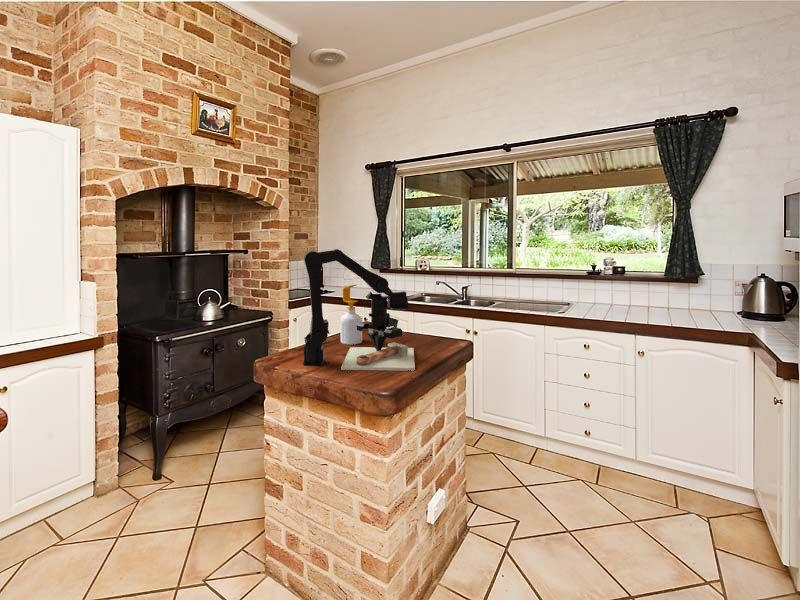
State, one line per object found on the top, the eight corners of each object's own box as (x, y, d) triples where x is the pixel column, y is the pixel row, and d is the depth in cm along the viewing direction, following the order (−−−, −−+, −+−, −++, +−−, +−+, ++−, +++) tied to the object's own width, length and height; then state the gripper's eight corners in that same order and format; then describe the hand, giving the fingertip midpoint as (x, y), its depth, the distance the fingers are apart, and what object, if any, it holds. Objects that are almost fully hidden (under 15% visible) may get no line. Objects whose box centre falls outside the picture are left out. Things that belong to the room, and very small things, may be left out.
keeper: (401, 360, 165) (401, 347, 164) (387, 355, 170) (387, 343, 170) (407, 358, 167) (407, 346, 166) (393, 354, 173) (393, 342, 172)
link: (363, 365, 154) (363, 358, 153) (353, 363, 156) (353, 356, 156) (403, 352, 171) (403, 345, 171) (394, 350, 174) (394, 343, 173)
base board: (341, 369, 153) (341, 367, 153) (350, 349, 179) (350, 347, 179) (414, 370, 153) (414, 367, 153) (413, 350, 178) (413, 347, 178)
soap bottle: (352, 346, 184) (351, 286, 181) (336, 342, 190) (335, 284, 186) (366, 341, 191) (366, 284, 188) (350, 338, 197) (350, 282, 193)
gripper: (412, 311, 164) (412, 352, 166) (377, 304, 176) (376, 343, 179) (391, 315, 156) (391, 359, 158) (355, 308, 168) (355, 348, 171)
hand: (378, 352), depth 167 cm, fingers closed
